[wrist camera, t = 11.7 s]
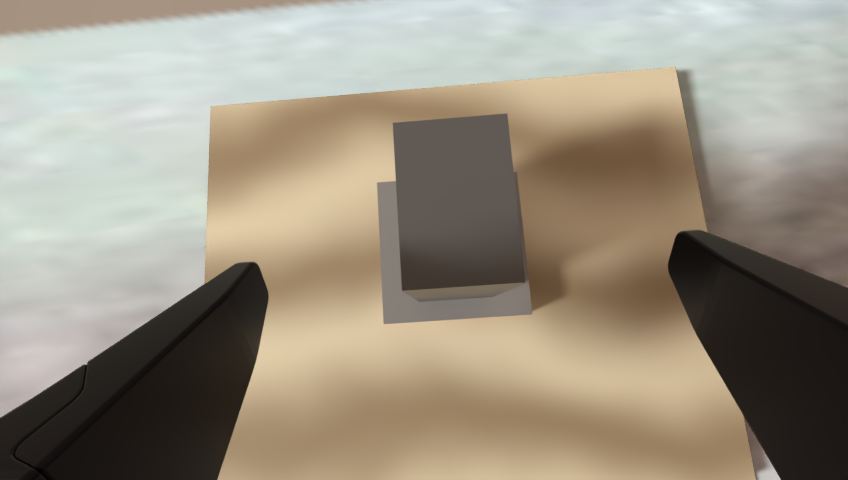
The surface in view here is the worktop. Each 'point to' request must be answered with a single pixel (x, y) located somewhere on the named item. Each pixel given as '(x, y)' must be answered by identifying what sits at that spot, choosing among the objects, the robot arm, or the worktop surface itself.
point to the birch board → (478, 337)
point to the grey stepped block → (452, 223)
